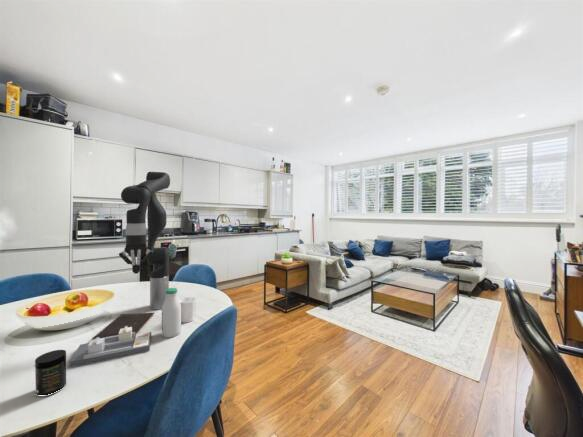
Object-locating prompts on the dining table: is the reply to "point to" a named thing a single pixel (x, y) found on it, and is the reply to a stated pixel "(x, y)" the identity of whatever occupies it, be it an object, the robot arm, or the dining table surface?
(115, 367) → the dining table surface
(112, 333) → the hardcover book
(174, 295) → the milk bottle
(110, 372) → the dining table surface
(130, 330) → the cream tab
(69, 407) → the dining table surface
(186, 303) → the white cup
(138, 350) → the switch panel
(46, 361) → the supplement container
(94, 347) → the white block with rib
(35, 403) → the dining table surface
